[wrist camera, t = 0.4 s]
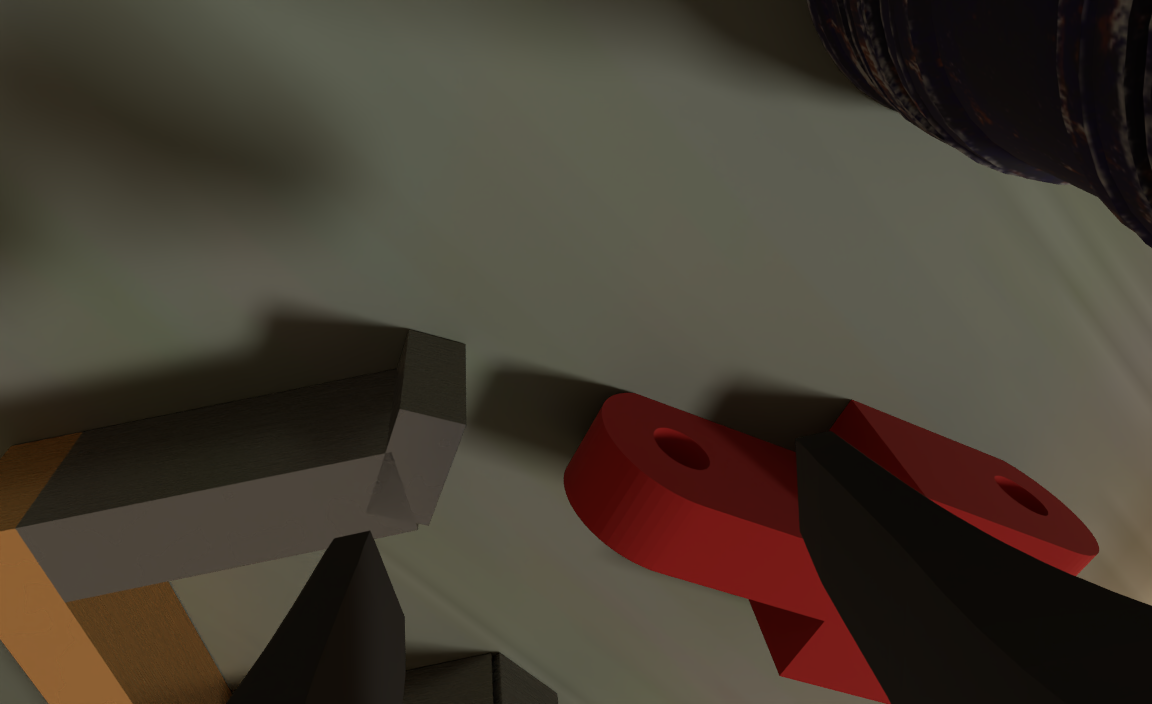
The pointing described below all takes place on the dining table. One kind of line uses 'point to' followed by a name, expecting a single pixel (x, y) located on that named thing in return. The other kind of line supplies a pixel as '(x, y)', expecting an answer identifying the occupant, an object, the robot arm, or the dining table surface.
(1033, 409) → the dining table surface
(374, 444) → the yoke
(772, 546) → the mechanical linkage
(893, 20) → the storage jar
